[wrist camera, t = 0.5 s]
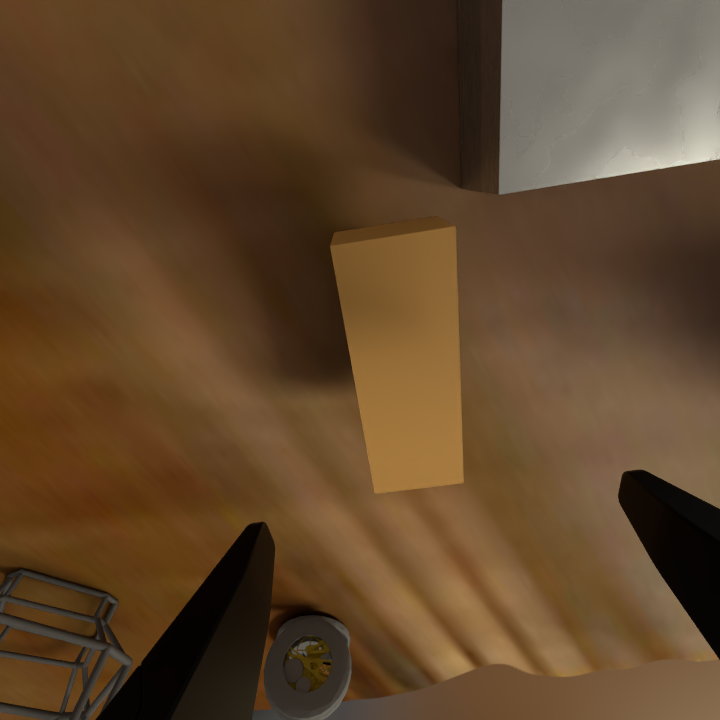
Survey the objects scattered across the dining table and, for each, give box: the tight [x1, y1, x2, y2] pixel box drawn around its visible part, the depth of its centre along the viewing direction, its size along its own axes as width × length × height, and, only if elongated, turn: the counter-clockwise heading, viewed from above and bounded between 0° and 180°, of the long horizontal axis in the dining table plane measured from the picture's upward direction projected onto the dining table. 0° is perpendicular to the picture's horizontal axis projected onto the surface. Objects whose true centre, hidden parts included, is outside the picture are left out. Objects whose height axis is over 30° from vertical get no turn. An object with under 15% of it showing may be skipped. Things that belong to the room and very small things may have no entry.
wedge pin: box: [330, 216, 464, 494], centre depth 17 cm, size 4×11×7 cm, turn 8°
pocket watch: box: [264, 615, 351, 720], centre depth 29 cm, size 8×8×10 cm
